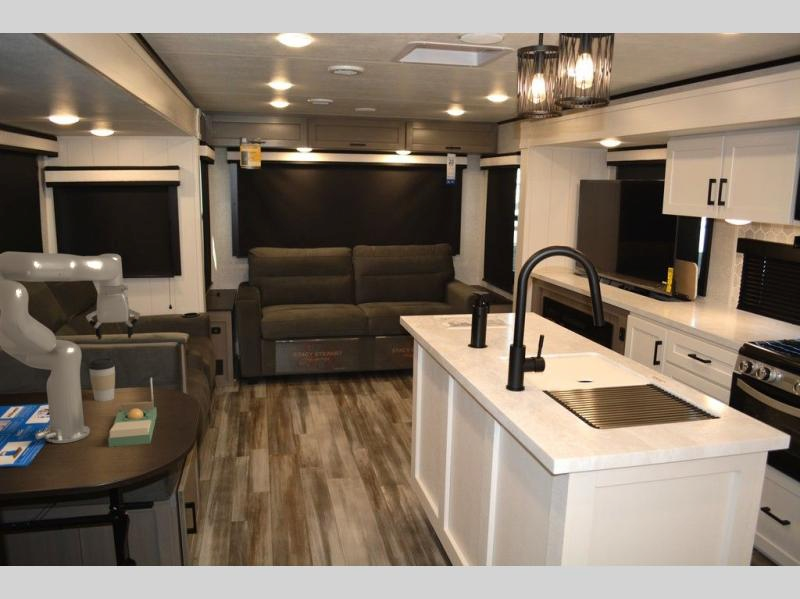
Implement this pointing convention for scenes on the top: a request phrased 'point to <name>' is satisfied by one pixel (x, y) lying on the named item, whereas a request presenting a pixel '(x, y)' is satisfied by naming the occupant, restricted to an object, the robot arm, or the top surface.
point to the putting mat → (134, 424)
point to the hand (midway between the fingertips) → (115, 337)
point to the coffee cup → (102, 378)
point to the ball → (135, 414)
